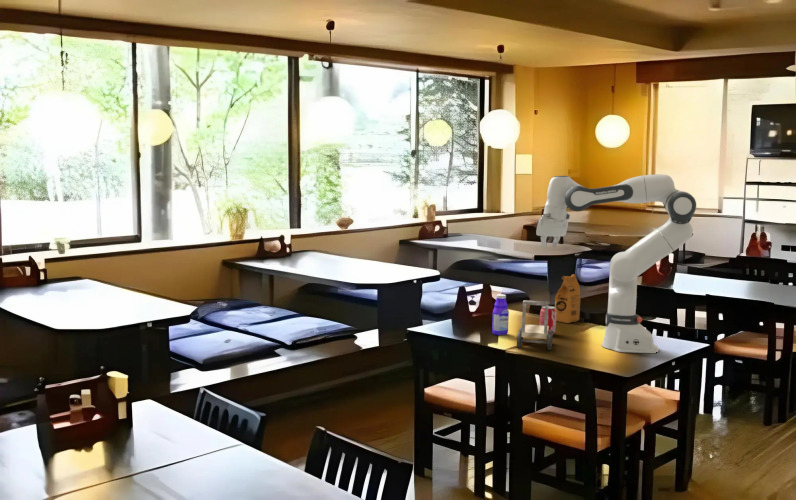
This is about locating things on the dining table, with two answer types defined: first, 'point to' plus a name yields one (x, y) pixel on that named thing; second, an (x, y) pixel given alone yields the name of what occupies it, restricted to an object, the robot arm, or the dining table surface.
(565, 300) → the coffee package
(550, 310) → the soda can
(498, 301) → the bottle
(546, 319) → the trolley
